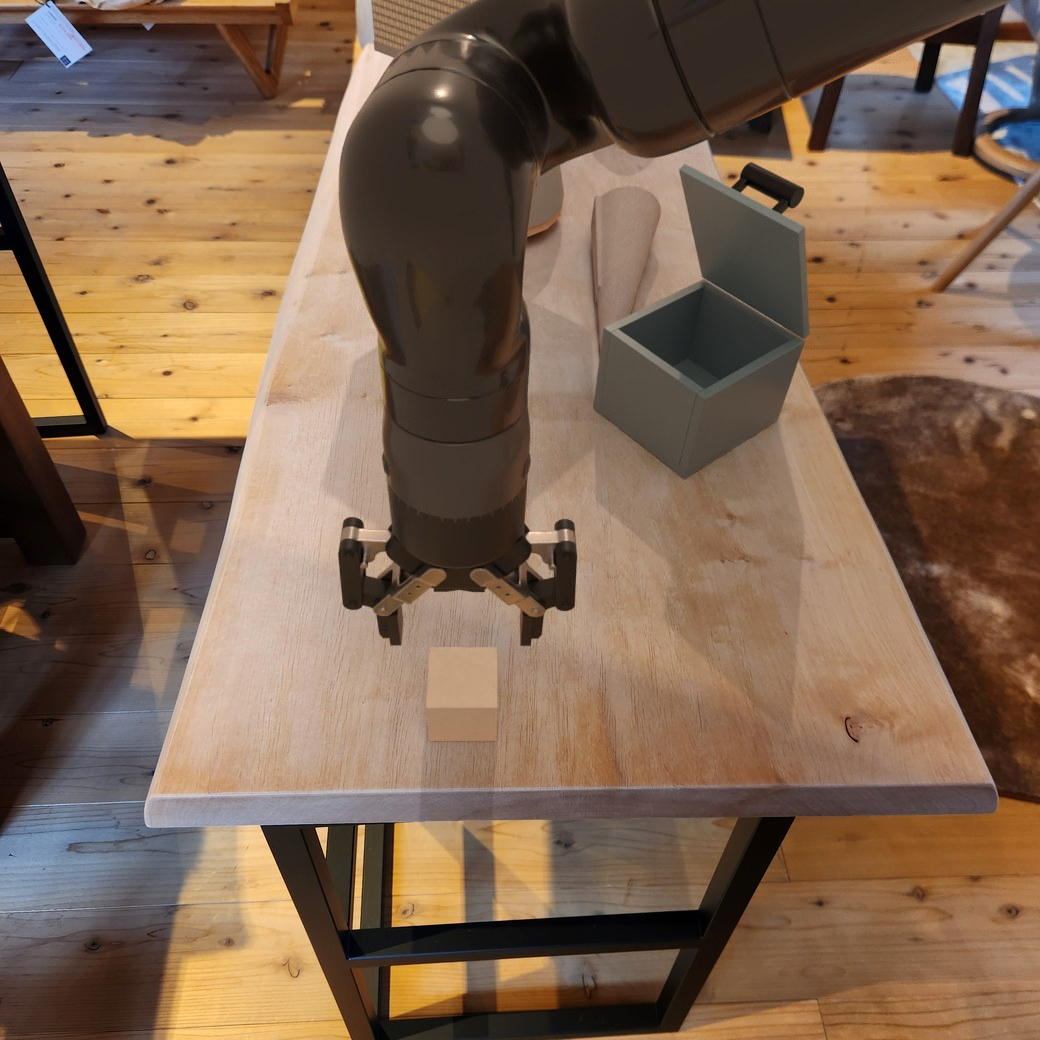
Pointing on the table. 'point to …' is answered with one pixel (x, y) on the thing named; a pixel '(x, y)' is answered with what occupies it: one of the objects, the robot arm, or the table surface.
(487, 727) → the tan cube
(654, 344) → the grey box
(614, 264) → the beige long cone
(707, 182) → the lid
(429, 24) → the desk lamp
